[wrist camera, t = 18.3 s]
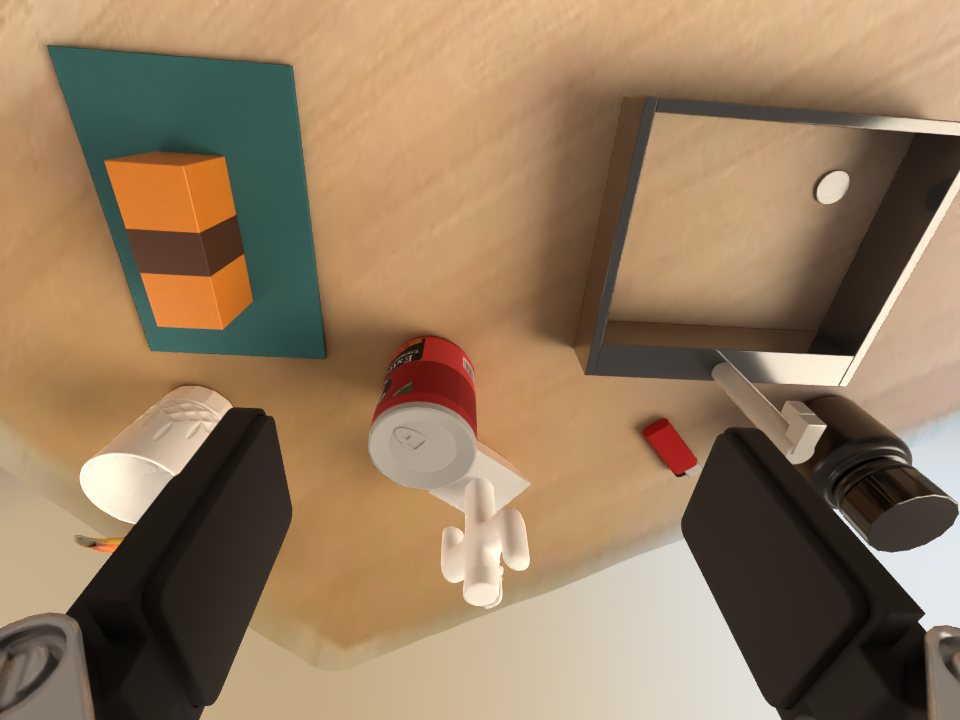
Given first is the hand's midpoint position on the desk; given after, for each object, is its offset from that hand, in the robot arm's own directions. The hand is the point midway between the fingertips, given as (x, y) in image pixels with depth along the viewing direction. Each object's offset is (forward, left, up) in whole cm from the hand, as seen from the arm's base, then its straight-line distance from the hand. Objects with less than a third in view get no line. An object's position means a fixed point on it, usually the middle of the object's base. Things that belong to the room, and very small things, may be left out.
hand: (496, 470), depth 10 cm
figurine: (+26, +2, -28) cm, 39 cm away
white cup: (+21, -25, -28) cm, 43 cm away
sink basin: (+2, +21, -28) cm, 35 cm away
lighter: (+23, +22, -28) cm, 43 cm away
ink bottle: (+20, +36, -28) cm, 50 cm away
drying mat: (+3, -20, -28) cm, 35 cm away
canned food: (+15, -3, -28) cm, 32 cm away
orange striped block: (+3, -20, -28) cm, 34 cm away
